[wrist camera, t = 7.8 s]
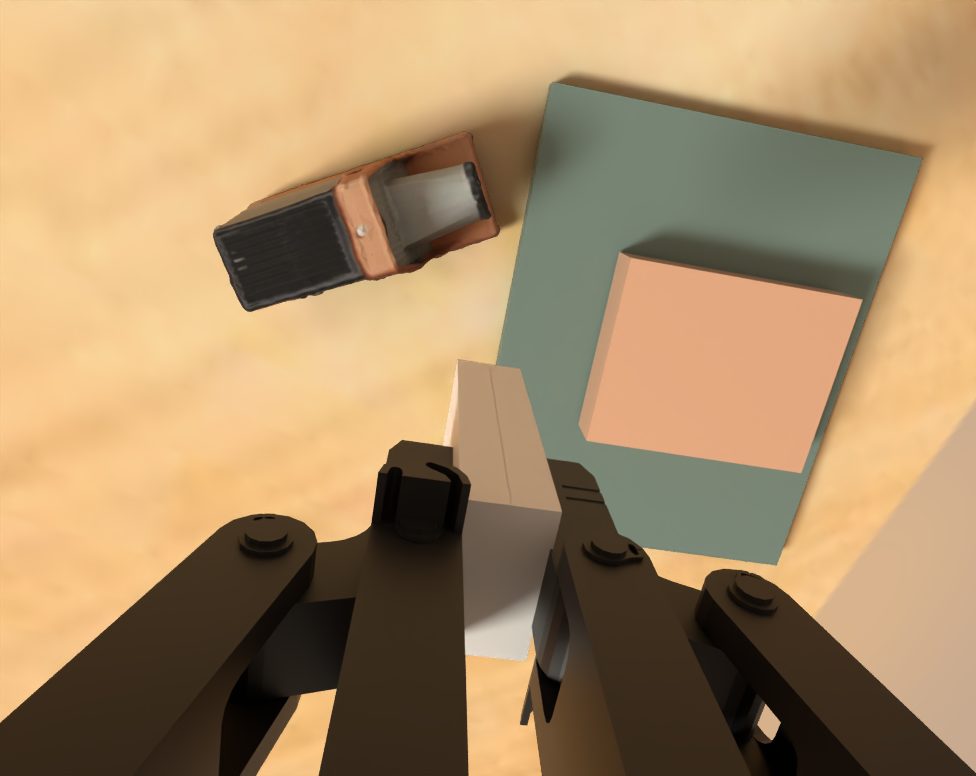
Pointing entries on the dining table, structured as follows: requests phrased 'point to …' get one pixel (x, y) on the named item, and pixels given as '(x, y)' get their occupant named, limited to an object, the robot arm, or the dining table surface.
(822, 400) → the tile
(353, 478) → the dining table surface
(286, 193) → the electronic device
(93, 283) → the dining table surface
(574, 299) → the mat
